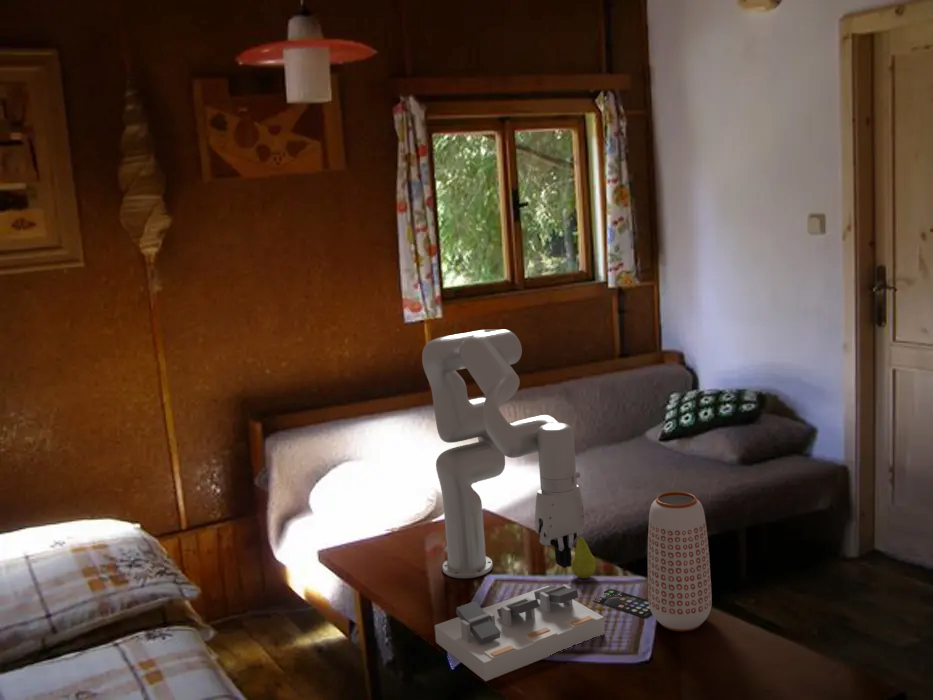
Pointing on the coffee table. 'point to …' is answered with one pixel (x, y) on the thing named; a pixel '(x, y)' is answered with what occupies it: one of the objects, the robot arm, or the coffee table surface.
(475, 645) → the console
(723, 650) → the coffee table surface
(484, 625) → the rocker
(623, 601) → the smartphone
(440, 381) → the robot arm
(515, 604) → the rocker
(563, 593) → the rocker
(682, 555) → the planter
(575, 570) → the fruit
